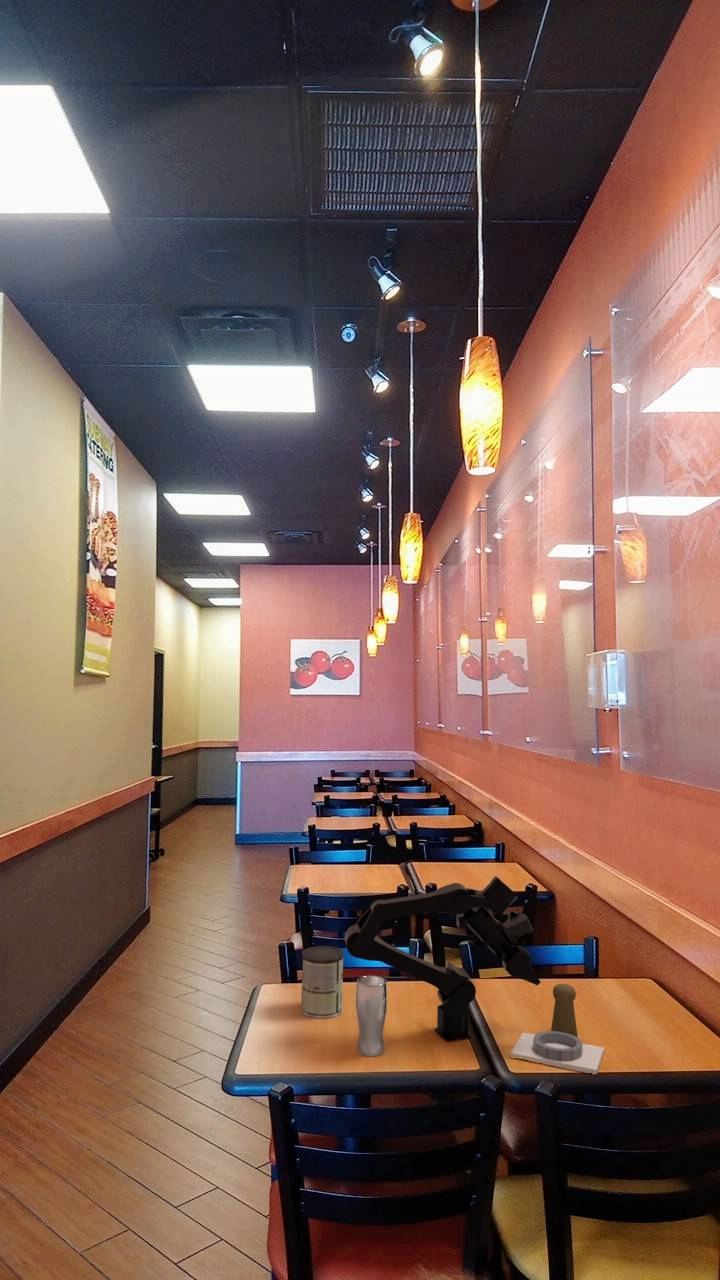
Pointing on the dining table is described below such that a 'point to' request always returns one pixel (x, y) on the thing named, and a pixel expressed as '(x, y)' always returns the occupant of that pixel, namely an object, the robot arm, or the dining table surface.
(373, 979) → the beer glass
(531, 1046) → the dock
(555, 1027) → the olive brown pawn
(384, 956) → the robot arm
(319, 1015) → the coffee can
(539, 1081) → the dining table surface
